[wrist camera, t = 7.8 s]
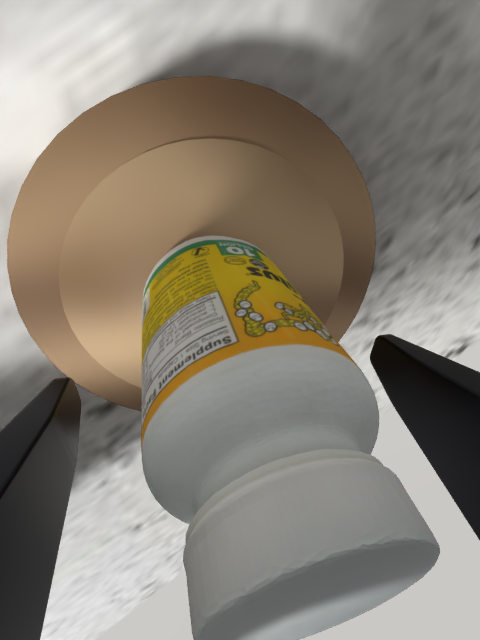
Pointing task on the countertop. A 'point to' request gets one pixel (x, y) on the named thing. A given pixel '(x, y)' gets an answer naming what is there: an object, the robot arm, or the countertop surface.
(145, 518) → the countertop surface
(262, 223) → the plate
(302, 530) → the supplement bottle
